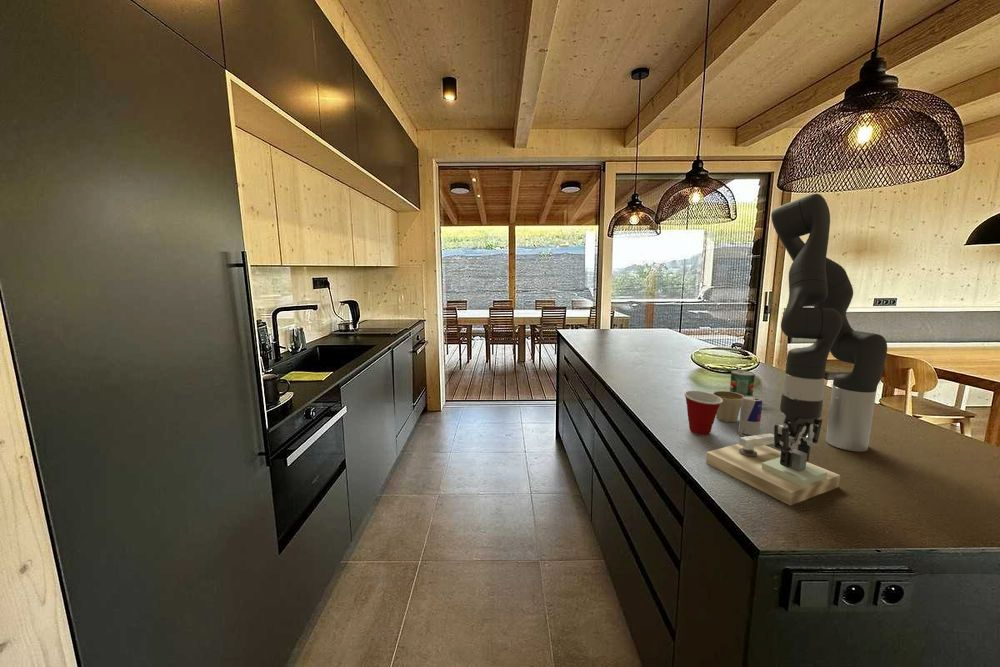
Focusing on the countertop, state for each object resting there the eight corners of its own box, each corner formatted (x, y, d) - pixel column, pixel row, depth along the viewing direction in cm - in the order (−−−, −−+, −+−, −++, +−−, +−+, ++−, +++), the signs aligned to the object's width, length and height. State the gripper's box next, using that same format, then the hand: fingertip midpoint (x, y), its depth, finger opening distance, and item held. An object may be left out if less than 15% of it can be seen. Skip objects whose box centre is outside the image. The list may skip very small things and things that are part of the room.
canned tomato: (757, 402, 150) (759, 375, 148) (736, 402, 150) (738, 375, 148) (744, 396, 158) (746, 369, 156) (724, 396, 158) (727, 369, 156)
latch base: (751, 450, 111) (752, 438, 110) (838, 487, 91) (840, 472, 91) (705, 462, 104) (706, 449, 103) (790, 505, 84) (792, 490, 84)
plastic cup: (716, 442, 116) (720, 403, 114) (678, 433, 122) (680, 396, 121) (722, 430, 124) (725, 394, 122) (686, 422, 131) (688, 388, 129)
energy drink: (762, 439, 117) (766, 401, 115) (742, 438, 118) (746, 400, 116) (754, 432, 122) (758, 395, 121) (735, 431, 124) (738, 394, 122)
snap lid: (785, 461, 98) (787, 440, 97) (826, 478, 90) (829, 455, 89) (761, 468, 94) (763, 447, 94) (802, 486, 86) (805, 463, 85)
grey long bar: (738, 449, 103) (739, 437, 102) (768, 445, 105) (769, 432, 105) (745, 453, 100) (747, 440, 100) (776, 449, 103) (777, 436, 102)
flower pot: (712, 422, 131) (714, 397, 130) (709, 412, 140) (711, 389, 138) (744, 426, 128) (747, 400, 126) (739, 416, 136) (741, 392, 135)
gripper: (803, 386, 95) (795, 451, 98) (764, 393, 90) (757, 462, 92) (839, 395, 88) (830, 464, 91) (800, 403, 83) (791, 477, 85)
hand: (794, 463), depth 92 cm, fingers open, 5 cm apart
